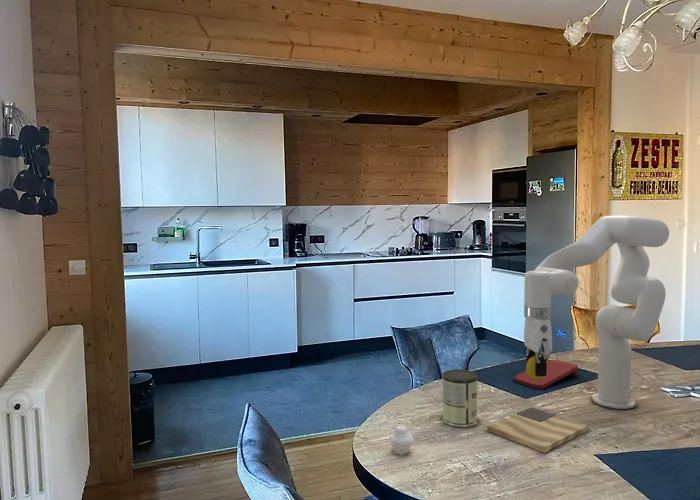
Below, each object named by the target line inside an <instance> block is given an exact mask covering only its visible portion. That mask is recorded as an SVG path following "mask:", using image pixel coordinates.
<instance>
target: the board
mask: <svg viewBox="0 0 700 500" xmlns="http://www.w3.org/2000/svg"><path fill="white" fill-rule="evenodd" d="M486 427H487V428H486V429H487V432H489V433H491V434H495V435H497V436H500V437H501V438H504V439H507V440H510V441H512V442H515V443H517V444H521V445H523V446H525V447H528V448H531V449H533V450H536V451H539V452H541V453H543V454H546V453H547V452H549V451H551V450H554V449H555V448H557V447H559V446H561V445H563V444H565V443H568V442H569V441H571V440H573V439H574V438H576V437H579V436H580V435H582V434H584V433H587V432H588V431H589V426H588V425H587V424H584V423H580V422H577V421H574V420H571V419H568V418H566V417H565V418H564V417H561V416H558V415H556V414H554V413H551V412H549V411H546V410H545V411H544V410H542V409H540V408H539V409H538V408H535V407H533V406H531V407H529V408H527V409H524V410H521V411H518V412H517V413H515V414H513V415H510V416H508V417H506V418H504V419H500V420H498V421H496V422H493V423H492V424H488V425H487V426H486Z"/></svg>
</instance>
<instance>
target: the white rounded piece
mask: <svg viewBox="0 0 700 500" xmlns="http://www.w3.org/2000/svg"><path fill="white" fill-rule="evenodd" d="M413 442H414V437H413V435H412V434H411V433H410V432H409V428H408V427H407V426H405V425H397V426H395V428H394V430H393V432H392V433H391V434H390V435H389V443H390V445H391V447H392V450H393V451H394V452H395V454H397V455H406V454H408V452H409V450H410V448H411V447H412V445H413Z"/></svg>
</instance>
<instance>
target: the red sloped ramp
mask: <svg viewBox="0 0 700 500" xmlns="http://www.w3.org/2000/svg"><path fill="white" fill-rule="evenodd" d="M547 361H548V362H547V375H546V376H544V377H543V378H542V379H540V380H538V381H537V382H535V381H534V380H533V379H531V378H530V377H529V376H528V374H527V370H526V369H525V371H522V372H520V373H518V374H517V375H515V376H514V381H515V382H516V383H518V384H521V385H524V386H527V387H531V388H533V389H545V388H547V387H549V386H551V385H552V384H554V383H556V382H558V381H560V380H561V379H564V378H565V377H567V376H572V377H577V376H578V375H579V369H578V368H579V367H578V364H575V363H571V362H566V361H563V360H557V359H548V360H547Z"/></svg>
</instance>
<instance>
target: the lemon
mask: <svg viewBox="0 0 700 500" xmlns="http://www.w3.org/2000/svg"><path fill="white" fill-rule="evenodd" d="M535 362H537V359H536V355H535V356H533V357H531V358H530V359H529V360H528V362H527V366H526V365H525V368H526V369H525V371H526V370H527V374H528V376H529V377H530V378H531V379H533V380H534V381H535V382H537V381H538V380H540V379H542V378H543V377H544V376H536V375H535Z"/></svg>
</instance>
